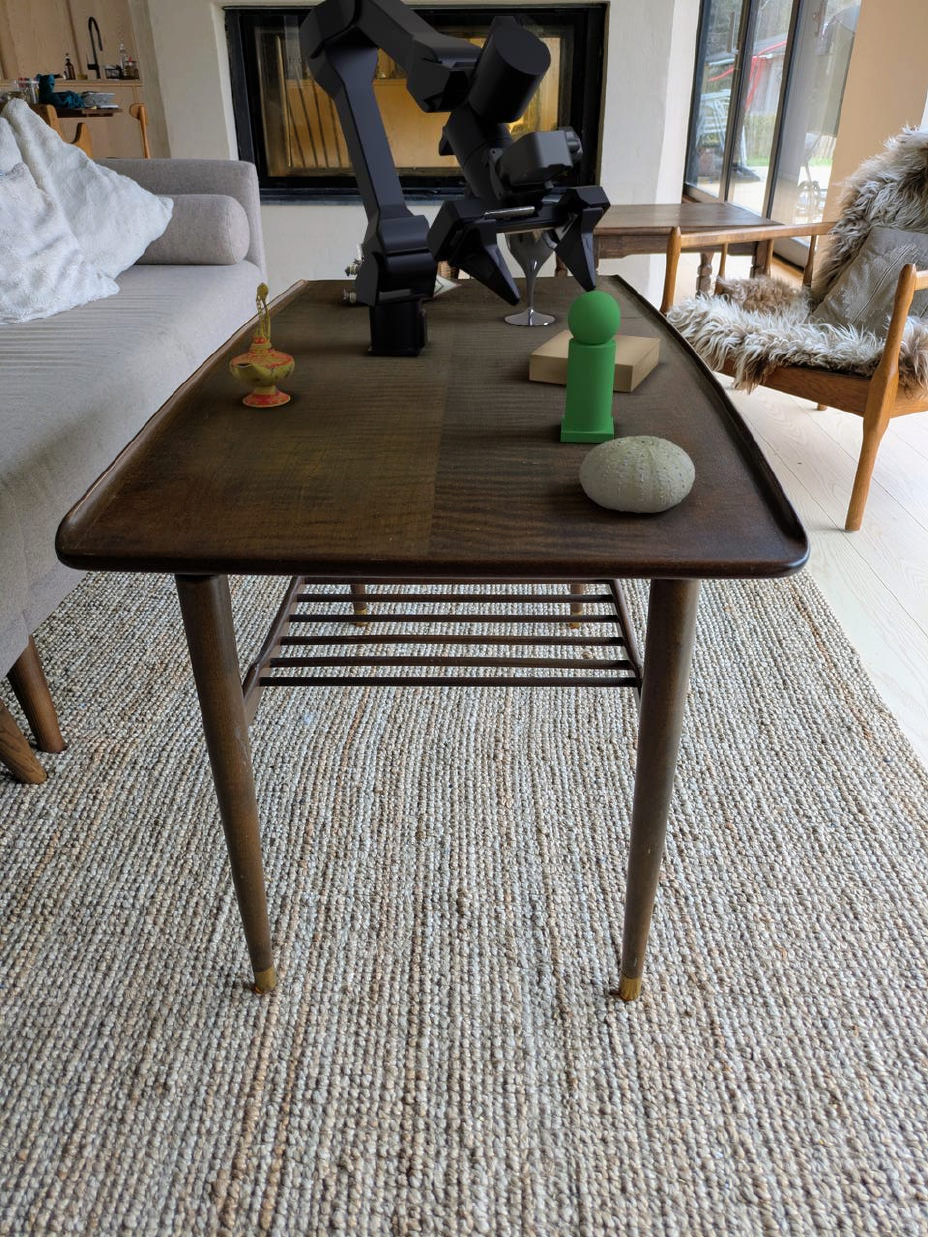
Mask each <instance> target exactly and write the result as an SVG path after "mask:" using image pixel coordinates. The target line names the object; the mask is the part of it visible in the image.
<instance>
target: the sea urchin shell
mask: <svg viewBox="0 0 928 1237" xmlns="http://www.w3.org/2000/svg"><path fill="white" fill-rule="evenodd" d="M695 474H696V469H695V465H694V463H693V461H692V459H691V457H690V456H689V454H688V453H687V452H686V451H685V450H684V449H683V448H682V447H680V446H679V445H676V444H675V443H673V442H672V441H671V440H670V441H669V440H667V439H665V438H660V437H658V436H654V435H653V436H651V435H650V436H649V435H637V436H625V437H621V438H619V437H617V438H615V439H614V438H613V440H611V441H610V440H609V441H608V442H605V443H599V444H597V445H596V446H594V447H593V448H592V449H591V450H589V451H588V452H587V454H586V455H585V457H584V458H583V460H582V463H581V465H580V468H579V473H578V478H579V483H580V484H581V487H582V489H583V490H584V493H585V494H587V495H586V497H588V498H590V500H592V501H594V502H595V503H596V504H597V505H598V506H601V507H603V508H606V509H607V510H616V511H620V512H633V513H636V514H640V513H649V514H650V513H651V514H654V513H660V512H664V511H667V510H669V509H670V508H672V507H674V506H677V505H678V504H680V503H681V501H682V500H683V499H684V498H685V499H686V497H687V496H688V495H689V494H690V492H691V490H692V488H693V485H694V481H695V479H696V475H695Z"/></svg>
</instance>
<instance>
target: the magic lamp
mask: <svg viewBox="0 0 928 1237" xmlns="http://www.w3.org/2000/svg"><path fill="white" fill-rule="evenodd" d="M269 291H270V289H269V287H268V285H267V284H266V283H264V282H261V283H259V285H258V286H257V288H256V298H255V304H256V308H257V314H258V319H259V326H260V328H256V331H255V332H254V333H253V334H252V338H253V339H254V340H253V341H252V343H251V344H250V347H249V350H248V352H246V353H243V354H240V355H238V356H236V357H234V358H233V359H231V361H230V362H229V371H230V373H231V374H232V376H233V377H234V378H235V380H237V381H239V382H240V383H242V384H245V385H247V386H251V387H254V389H253V391H252V392H251V393H250V394H249V395H247V396H246V397H244V398H243V399H242V403H243V404H244V405H245V406H248V407H253V408H272V407H277V406H281V405H284V404H286V403H288V402H289V401H291V397H290V395H289V394H288V393H284V392H282V391H280V390H279V389H278V388H277V387H276V385H278V384H281V383H283V382H284V381H286V380H287V379H288V378H289V377H291V375H292V374H293V373H294V370H295V364H296V363H295V359H294V358H293V356H292V355H290V354H288V353H285V352H283V351H277V350H275V348H274V346H273V345H272V343H271V341H270V339H271V317H270V312H269V308H268V305H267V303H266V302H267V301H266V300H267V297H268V295H269V293H270V292H269ZM261 302H262V303H261ZM262 304H263V305H262ZM262 306H263V307H262ZM263 308H264V311H265V315H266V323H265V318H264V313H263ZM266 324H267V329H266Z"/></svg>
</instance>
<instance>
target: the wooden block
mask: <svg viewBox="0 0 928 1237" xmlns="http://www.w3.org/2000/svg"><path fill="white" fill-rule="evenodd" d="M571 338H573V335H572V334H571V332H570V330H569V329H563V330H562V331H560V332H559V333H558V334H556V335H555V336H554V337H552V338H551V339H549V340H548V341H546V342H545V343H543V344H542V345H540V346H539V347H538V348H536V349H535V350H534V351H533V352H531V353H530V354H529V373H528V374H529V379H528V380H529V381H535V382H542V383H551V384H558V385H565V386H567V367H568V347H569V340H570V339H571ZM612 338H613V339H615V340H616V355H615V368H614V381H613V391H616V392H623V393H624V392H625V393H632V392H633V391H634V390H635V389H636V388H637V386H639V384H641V382H643V380H644V379H645V378H646V377H647V376H648V375H649V374H650V373H651V372H652V371H653V370H654V369H655V367H657V366H658V365H659V359H660V358H659V356H660V346H661V338H655V337H645V336H633V335H624V334H615V335H614V336H613V337H612Z"/></svg>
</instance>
